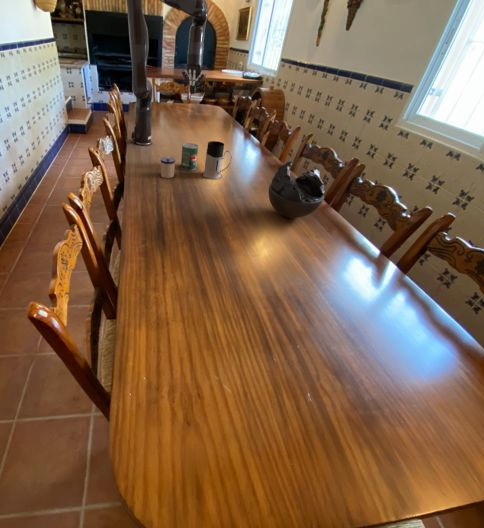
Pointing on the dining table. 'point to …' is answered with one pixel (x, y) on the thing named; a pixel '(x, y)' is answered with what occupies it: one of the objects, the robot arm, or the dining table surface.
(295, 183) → the broken dark shell
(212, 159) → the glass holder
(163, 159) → the salt pot
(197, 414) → the dining table surface
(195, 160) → the canned tomato
